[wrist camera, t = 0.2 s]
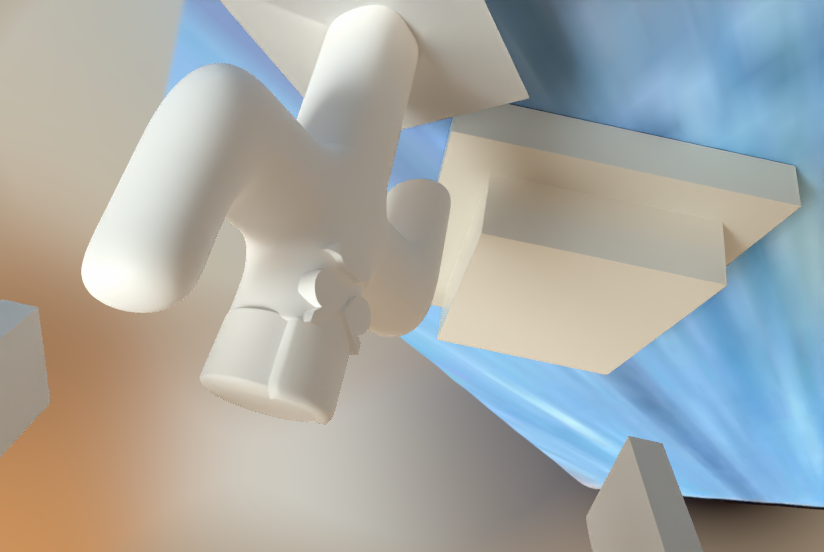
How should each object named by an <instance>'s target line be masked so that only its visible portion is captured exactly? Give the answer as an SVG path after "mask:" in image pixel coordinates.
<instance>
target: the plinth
mask: <svg viewBox="0 0 824 552" xmlns="http://www.w3.org/2000/svg"><path fill="white" fill-rule="evenodd" d="M437 182H439V183H440V184H442V185H443V186H444V187H445V188H446V189H447V190H448V192H449V194H450V198H451V208H450V215H449V220H448V226H447V232H446V238H445V243H444V249H443V255H442V261H441V266H440V272H439V277H438V282H437V286H436V290H435V294H434V297H433V300H432V303H431V305H435V306H440V307H442V312H441V318H440V324H439V330H438V336H437V340H442V341H446V342H451V343H456V344H461V345H466V346H470V347H475V348H480V349H485V350H490V351H494V352H499V353H504V354H509V355H514V356H518V357H523V358H528V359H533V360H538V361H542V362H547V363H552V364H557V365H562V366H567V367H571V368H576V369H581V370H586V371H591V372H595V373H600V374H605V375H607V374H609V373H610V372H611V371H613V370H614V369H615V368H617V367H618V366H619V365H621V364H622V363H623V362H625V361H626V360H628V359H629V358H630V357H632V356H633V355H634V354H636V353H637V352H638V351H640V350H641V349H642V348H644V347H645V346H646V345H648V344H649V343H650V342H652V341H653V340H654V339H656V338H657V337H658V336H660V335H661V334H662V333H664V332H665V331H666V330H668V329H669V328H670V327H672V326H673V325H675V324H676V323H677V322H679V321H680V320H681V319H683V318H684V317H685V316H687V315H688V314H689V313H691V312H692V311H693V310H695V309H696V308H697V307H699V306H700V305H701V304H703V303H704V302H705V301H707V300H708V299H709V298H711V297H712V296H713V295H715V294H716V293H718V292H719V291H720V290H722V289H723V288H724V287H726V286H727V274H726V266H727V265H728V264H729V263H731V262H732V261H733V260H734V259H736V258H737V257H738V256H739V255H741V254H742V253H743V252H745V251H746V250H747V249H748V248H750V247H751V246H752V245H753V244H755V243H756V242H757V241H758V240H760V239H761V238H762V237H763V236H765V235H766V234H767V233H768V232H770V231H771V230H772V229H773V228H775V227H776V226H777V225H778V224H780V223H781V222H782V221H783V220H785V219H786V218H787V217H788V216H790V215H791V214H792V213H794V212H795V211H796V210H797V209H799V208H800V207H801V200H800V194H799V187H798V180H797V174H796V167H795V166H793V165H789V164H784V163H780V162H775V161H770V160H766V159H761V158H756V157H752V156H747V155H742V154H738V153H733V152H729V151H724V150H719V149H715V148H710V147H705V146H701V145H696V144H692V143H687V142H682V141H678V140H673V139H668V138H664V137H659V136H655V135H650V134H645V133H641V132H636V131H631V130H627V129H622V128H617V127H613V126H608V125H604V124H599V123H594V122H590V121H585V120H580V119H576V118H571V117H567V116H562V115H557V114H553V113H548V112H543V111H539V110H534V109H530V108H525V107H520V106H516V105H511V104H504V105H500V106H496V107H492V108H487V109H483V110H479V111H475V112H471V113H467V114H463V115H459V116H455V117H453V118H452V122H451V126H450V130H449V134H448V138H447V142H446V146H445V150H444V154H443V158H442V162H441V166H440V170H439V174H438V178H437Z"/></svg>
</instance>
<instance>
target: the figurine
mask: <svg viewBox="0 0 824 552" xmlns="http://www.w3.org/2000/svg"><path fill="white" fill-rule="evenodd" d="M220 1H221V2H222V4H223V5H224V6H225V7H226V8H227V9H228V10H229V12H230V13H231V14H232V15H233V16H234V17H235V19H236V20H237V21H238V22H239V23H240V24H241V26H242V27H243V28H244V29H245V30H246V31H247V32H248V34H249V35H250V36H251V37H252V38H253V39H254V41H255V42H256V43H257V44H258V45H259V46H260V47H261V49H262V50H263V51H264V52H265V53H266V54H267V56H268V57H269V58H270V59H271V60H272V61H273V63H274V64H275V65H276V66H277V67H278V68H279V69H280V71H281V72H282V73H283V74H284V75H285V76H286V78H287V79H288V80H289V81H290V82H291V83H292V84H293V86H294V87H295V88H296V89H297V90H298V91H299V93H300V94H301V95H302V96H303V97H304V100H303V103H302V106H301V109H300V112H299V115H298V118H297V120H296V119H295V118H294V117H293V116H292V114H291V113H290V112H289V111H288V110H287V109H286V108H285V107H284V106H283V105H282V103H281V102H280V101H279V100H278V99H277V98H276V97H275V96H274V95H273V94H272V93H271V91H270V90H269V89H268V88H267V87H266V86H265V85H264V84H263V83H261V82H260V81H259V80H258V79H257V78H256V77H255V76H253V75H252V74H251V73H249V72H248V71H246V70H244V69H242V68H240V67H237V66H234V65H231V64H225V63H215V64H209V65H206V66H202V67H200V68H198V69H196V70H194V71H193V72H191V73H189V74H188V75H187V76H185V77H184V78H183V79H182V80H181V81H180V82H178V83H177V84H176V86H175V87H174V88H173V89H172V90H171V91H170V92H169V94H168V95H167V96H166V97H165V99H164V100H163V102H162V103H161V104H160V106H159V107H158V109H157V110H156V112H155V114H154V116H153V117H152V119H151V121H150V122H149V124H148V126H147V128H146V130H145V132H144V133H143V135H142V137H141V139H140V141H139V143H138V145H137V147H136V149H135V151H134V153H133V155H132V158H131V159H130V161H129V163H128V166H127V168H126V170H125V171H124V174H123V176H122V178H121V180H120V182H119V184H118V186H117V188H116V190H115V192H114V194H113V196H112V198H111V200H110V202H109V204H108V206H107V208H106V210H105V212H104V214H103V216H102V218H101V220H100V222H99V224H98V226H97V228H96V230H95V232H94V234H93V236H92V238H91V241H90V243H89V245H88V248H87V250H86V253H85V256H84V260H83V263H82V270H81V272H82V279H83V282H84V285H85V287H86V288H87V290H88V291H89V293H90V294H92V296H94V297H95V298H96V299H98V300H99V301H101V302H102V303H104V304H106V305H108V306H110V307H113V308H116V309H120V310H123V311H129V312H137V313H148V312H157V311H162V310H165V309H167V308H170V307H172V306H174V305H176V304H178V303H179V302H181V301H182V300H183V299H184V298H185V297H186V296H187V295H188V294H189V293H190V292H191V290H192V289H193V288H194V286H195V285H196V283H197V282H198V280H199V278H200V276H201V274H202V272H203V269H204V267H205V264H206V262H207V259H208V257H209V254H210V252H211V249H212V247H213V244H214V242H215V239H216V237H217V234H218V232H219V229H220V227H221V225H222V223H223V221H224V219H227V220H228V221H229V222H230V223H232V224H233V225H234V226H235V227H237V228H238V229H239V230H240V231H241V232H242V233H243V235H244V238H245V242H246V248H247V251H246V265H245V270H244V273H243V276H242V279H241V282H240V285H239V288H238V291H237V293H236V296H235V299H234V301H233V304H232V306H231V309H230V311H229V312H228V314H227V315H226V317H225V319H224V321H223V324H222V326H221V328H220V331H219V333H218V335H217V337H216V340H215V342H214V345H213V347H212V349H211V351H210V354H209V356H208V358H207V361H206V363H205V365H204V368H203V370H202V372H201V374H200V377H199V379H200V382H201V384H202V385H203V386H204V387H205V388H206V389H207V390H209V391H210V392H211V393H213V394H215V395H216V396H218V397H220V398H222V399H224V400H226V401H228V402H230V403H233V404H235V405H238V406H240V407H243V408H246V409H249V410H252V411H255V412H258V413H261V414H265V415H269V416H273V417H277V418H282V419H288V420H294V421H316V420H317V421H316V423H318V424H326V423H328V422H329V421H330V420H331V418H332V417H333V414H334V412H335V408H336V404H337V401H338V397H339V393H340V389H341V385H342V381H343V378H344V373H345V370H346V366H347V362H348V358H349V355H350V354H351V355H355V354H359V348H360V341H359V337H358V335H360V334H364V333H365V332H366V331H367V330H369V331H370V332H372V333H375V334H377V335H380V336H384V337H397V336H402V335H404V334H407V333H409V332H410V331H412V330H414V329H415V328H416V327H417V326H418V325H419V324H420V323H421V322H422V320H423V319H424V317H425V316H426V314H427V312H428V310H429V308H430V305H431V303H432V300H433V297H434V294H435V290H436V286H437V282H438V277H439V272H440V266H441V261H442V255H443V249H444V243H445V238H446V232H447V226H448V220H449V215H450V208H451V198H450V194H449V192H448V190H447V189H446V188H445V187H444V186H443V185H442V184H440V183H439V182H436V181H434V180H429V179H413V180H408V181H404V182H402V183H400V184H398V185H396V186H394V187H393V188H392V189H391V190H390V191H389V192H388V194H387V187H388V182H389V178H390V174H391V170H392V166H393V161H394V157H395V153H396V149H397V145H398V140H399V136H400V132H401V130H402V129H406V128H410V127H414V126H418V125H422V124H426V123H430V122H434V121H438V120H443V119H447V118H451V117H455V116H459V115H463V114H467V113H471V112H475V111H479V110H483V109H487V108H492V107H496V106H500V105H504V104H508V103H512V102H516V101H520V100H524V99H528V98H530V97H529V95H528V93H527V91H526V89H525V87H524V84H523V82H522V80H521V78H520V76H519V74H518V71H517V69H516V67H515V65H514V63H513V61H512V59H511V56H510V54H509V52H508V50H507V48H506V46H505V43H504V41H503V39H502V37H501V35H500V33H499V31H498V28H497V26H496V24H495V22H494V20H493V18H492V15H491V13H490V11H489V9H488V7H487V5H486V3H485V0H220Z"/></svg>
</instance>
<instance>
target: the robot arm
mask: <svg viewBox="0 0 824 552" xmlns="http://www.w3.org/2000/svg"><path fill="white" fill-rule="evenodd" d="M48 404H50V394H49V387H48V379H47V372H46V364H45V357H44V349H43V341H42V333H41V326H40V318H39V311H38V307H35V306H30V305H26V304H21V303H16V302H12V301H7V300H1V301H0V457H1V456H2V455H3V454H4V453H5V452H6V450H7V449H8V448H9V447H10V446H11V445H12V444H13V443H14V442H15V441H16V440H17V438H18V437H19V436H20V435H21V434H22V433H23V432H24V431H25V430H26V429H27V428H28V426H29V425H30V424H31V423H32V422H33V421H34V420H35V419H36V418H37V417H38V416H39V414H40V413H41V412H42V411H43V410H44V409H45V408H46V407H47V406H48ZM586 520H587V526H588V531H589V536H590V541H591V546H592V552H703V550H702V547H701V544H700V542H699V539H698V537H697V534H696V531H695V528H694V526H693V523H692V521H691V518H690V515H689V513H688V510H687V507H686V505H685V502H684V499H683V497H682V494H681V491H680V489H679V486H678V483H677V481H676V478H675V475H674V473H673V470H672V468H671V465H670V462H669V460H668V457H667V454H666V452H665V449H664V446H663V444H662V443H658V442H654V441H649V440H645V439H640V438H636V437H631V436H628V438H627V440H626V442H625V444H624V446H623V448H622V450H621V452H620V453H619V455H618V457H617V459H616V461H615V463H614V465H613V467H612V469H611V471H610V472H609V474H608V476H607V478H606V480H605V482H604V484H603V486H602V488H601V490H600V491H599V494H598V495H597V497H596V499H595V501H594V503H593V505H592V507H591V509H590V511H589V512H588V514H587V517H586Z"/></svg>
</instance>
